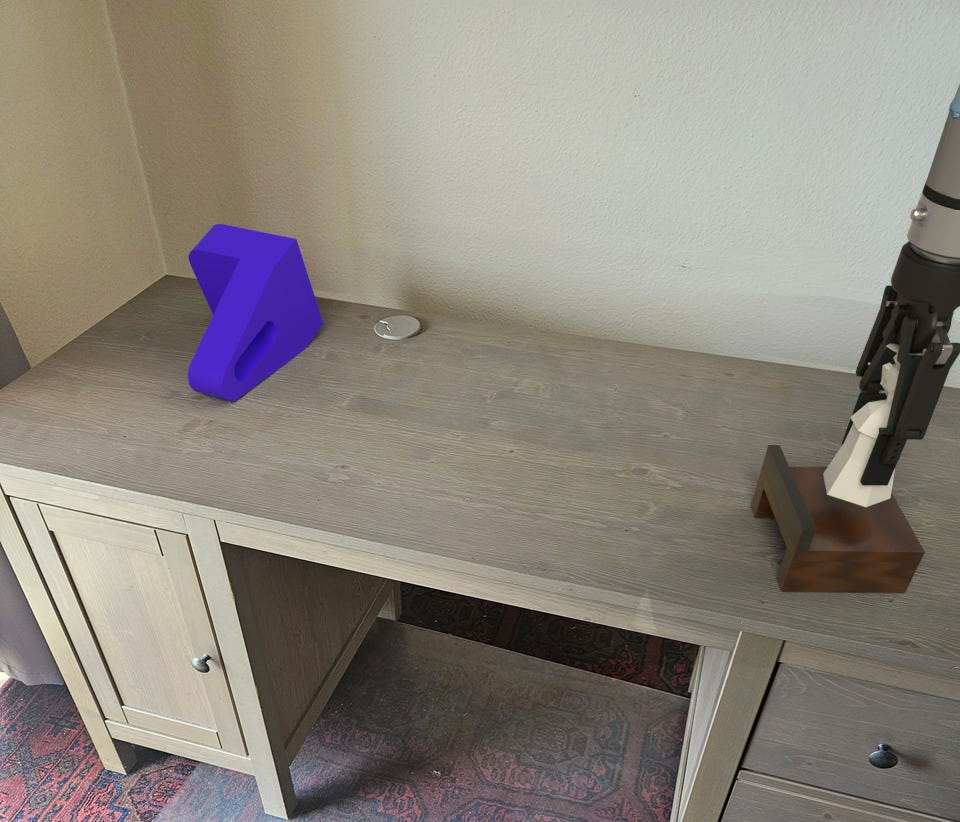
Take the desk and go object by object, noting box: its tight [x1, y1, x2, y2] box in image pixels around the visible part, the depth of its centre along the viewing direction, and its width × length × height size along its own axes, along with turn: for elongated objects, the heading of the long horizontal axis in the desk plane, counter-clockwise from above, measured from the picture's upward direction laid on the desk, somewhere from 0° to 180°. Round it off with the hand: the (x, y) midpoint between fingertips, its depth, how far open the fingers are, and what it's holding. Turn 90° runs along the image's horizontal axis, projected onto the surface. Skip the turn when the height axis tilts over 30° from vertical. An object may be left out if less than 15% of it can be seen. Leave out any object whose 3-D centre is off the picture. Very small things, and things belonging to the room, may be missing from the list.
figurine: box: [823, 344, 923, 507], centre depth 90 cm, size 7×8×18 cm
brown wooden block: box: [750, 444, 926, 594], centre depth 99 cm, size 14×16×9 cm
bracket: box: [187, 223, 324, 402], centre depth 129 cm, size 25×15×16 cm
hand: (863, 464), depth 94 cm, fingers closed on figurine, 6 cm apart
